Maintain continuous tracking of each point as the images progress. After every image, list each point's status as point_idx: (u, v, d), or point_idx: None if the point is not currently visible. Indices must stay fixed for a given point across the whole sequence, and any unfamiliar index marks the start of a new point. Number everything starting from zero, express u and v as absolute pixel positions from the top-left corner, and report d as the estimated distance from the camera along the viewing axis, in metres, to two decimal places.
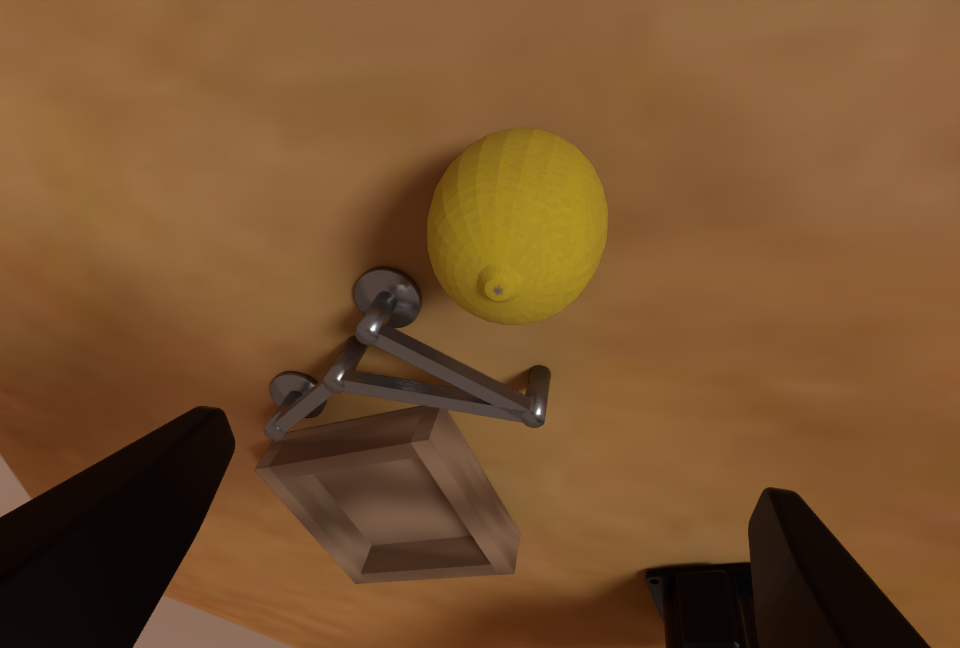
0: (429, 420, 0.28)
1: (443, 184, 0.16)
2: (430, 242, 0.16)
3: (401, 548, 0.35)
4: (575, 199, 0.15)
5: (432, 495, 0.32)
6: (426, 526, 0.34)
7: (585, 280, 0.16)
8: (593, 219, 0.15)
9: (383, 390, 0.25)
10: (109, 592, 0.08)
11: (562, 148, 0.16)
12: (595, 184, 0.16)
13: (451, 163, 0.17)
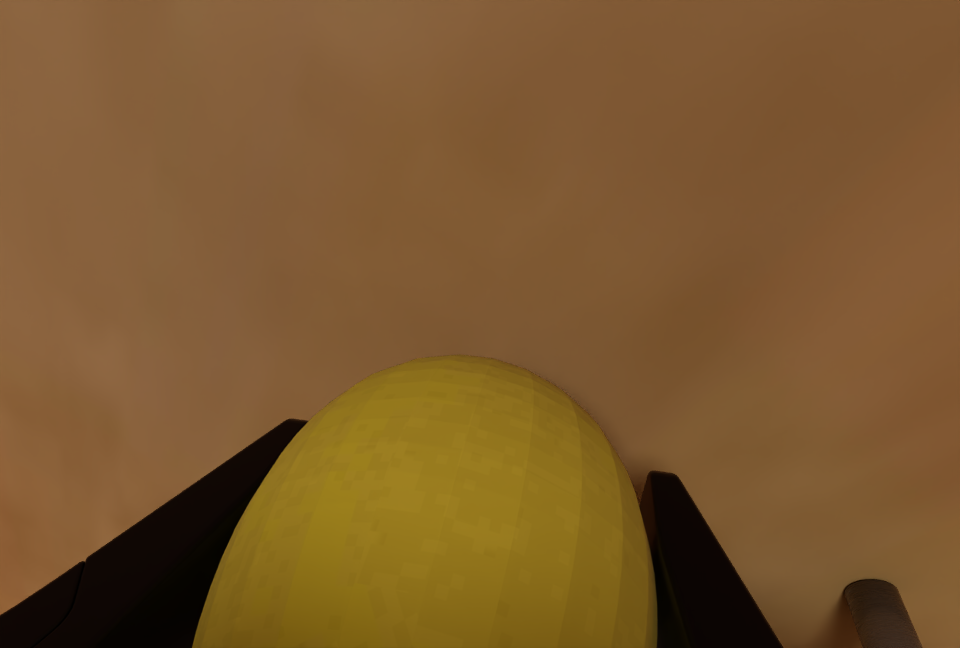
0: None
1: None
2: None
3: None
4: (326, 622, 0.05)
5: None
6: None
7: None
8: (422, 609, 0.05)
9: None
10: None
11: (311, 455, 0.06)
12: (414, 467, 0.06)
13: None
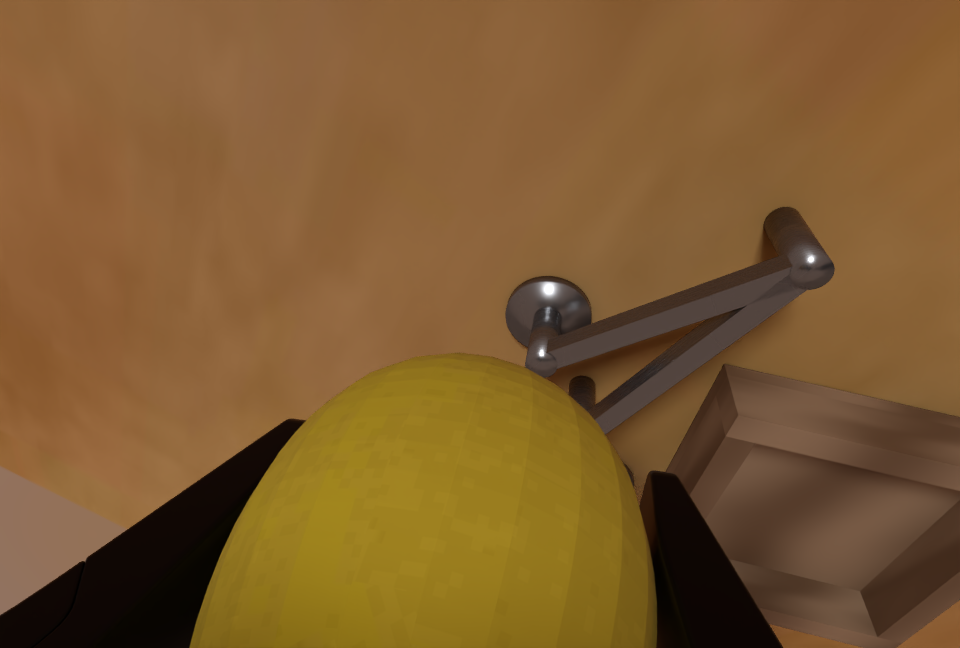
0: (726, 394, 0.19)
1: None
2: None
3: (896, 571, 0.23)
4: (323, 621, 0.05)
5: (850, 477, 0.21)
6: (894, 521, 0.22)
7: None
8: (421, 608, 0.05)
9: (625, 405, 0.18)
10: None
11: (309, 453, 0.06)
12: (413, 465, 0.06)
13: None
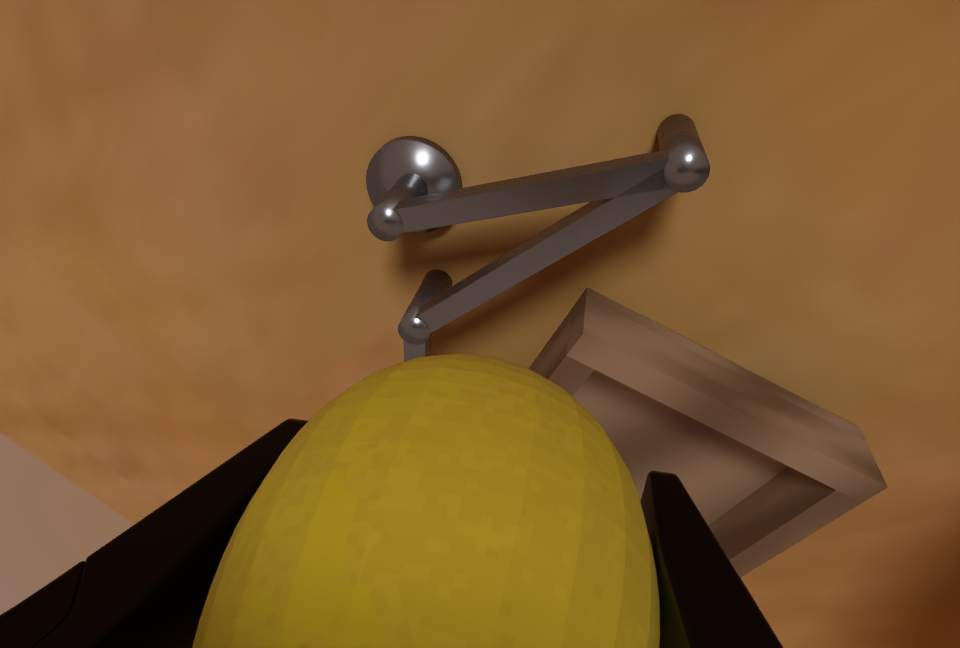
0: (579, 316, 0.18)
1: None
2: None
3: None
4: (327, 622, 0.05)
5: (680, 436, 0.21)
6: (710, 490, 0.22)
7: None
8: (425, 609, 0.05)
9: (468, 294, 0.16)
10: None
11: (311, 454, 0.06)
12: (416, 466, 0.06)
13: None
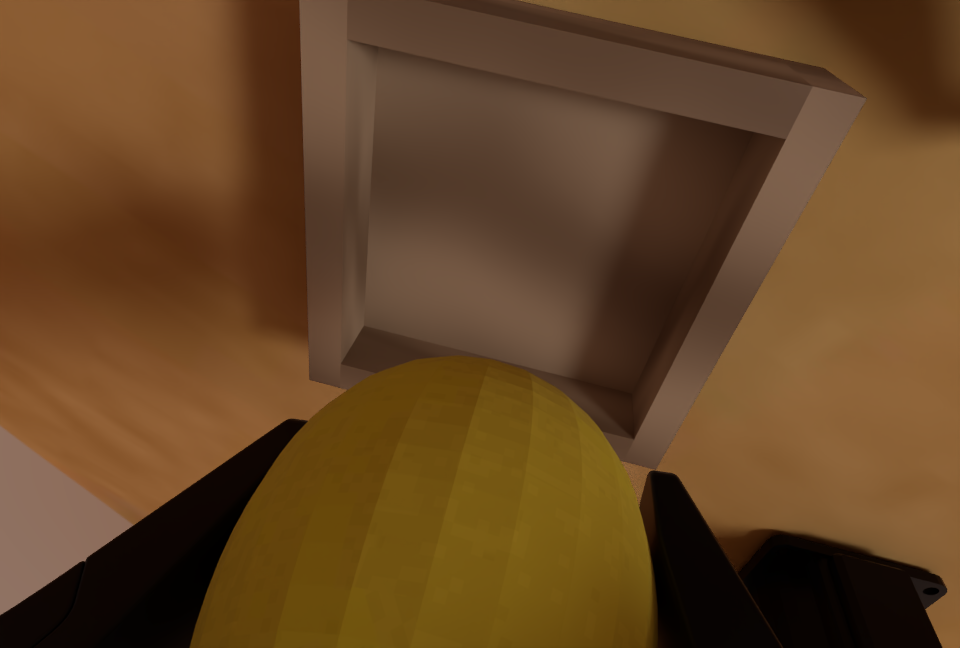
0: (825, 77, 0.11)
1: None
2: None
3: (433, 352, 0.18)
4: (322, 626, 0.05)
5: (593, 273, 0.16)
6: (513, 330, 0.17)
7: None
8: (422, 613, 0.05)
9: None
10: None
11: (308, 457, 0.06)
12: (413, 469, 0.06)
13: None
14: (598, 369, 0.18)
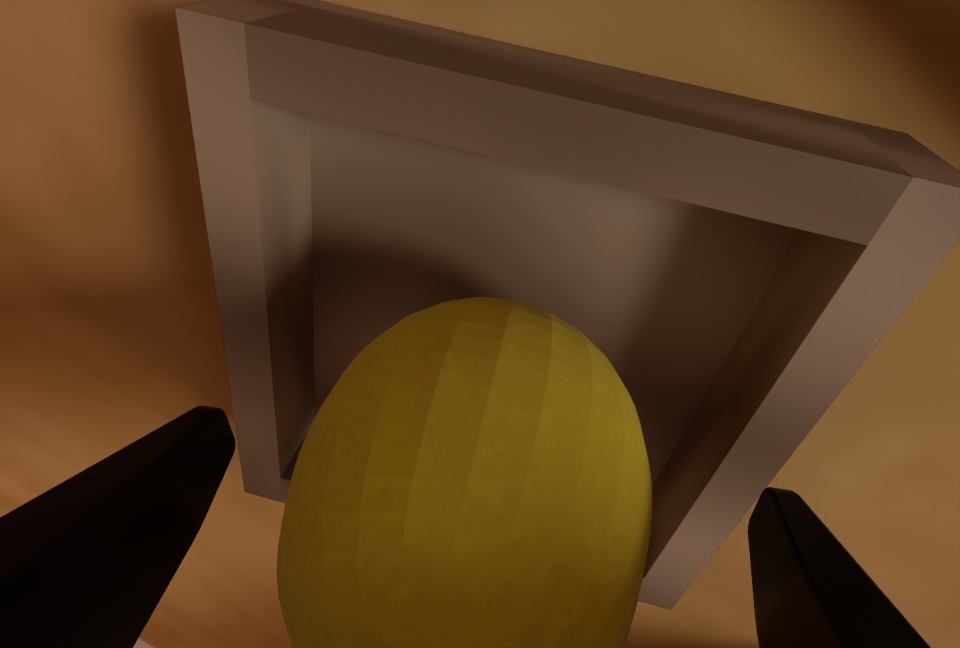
0: (918, 153, 0.08)
1: None
2: None
3: None
4: (399, 473, 0.06)
5: None
6: None
7: (582, 574, 0.06)
8: (473, 463, 0.06)
9: None
10: (109, 592, 0.08)
11: (374, 366, 0.08)
12: (461, 369, 0.07)
13: None
14: None
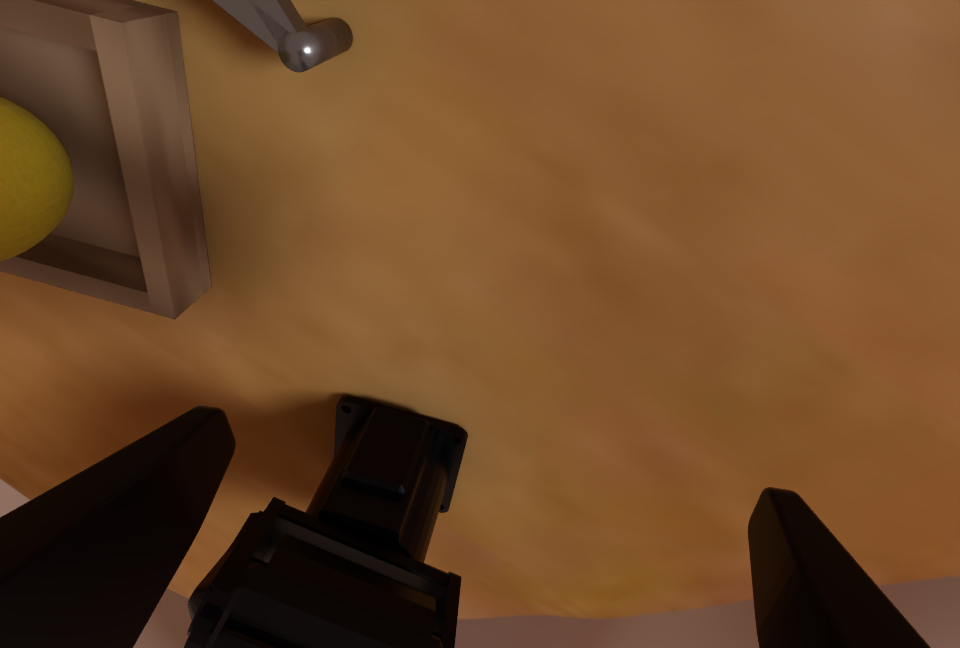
0: (141, 14, 0.17)
1: None
2: None
3: None
4: None
5: (106, 167, 0.22)
6: (79, 216, 0.23)
7: None
8: None
9: None
10: (109, 592, 0.08)
11: None
12: None
13: None
14: None
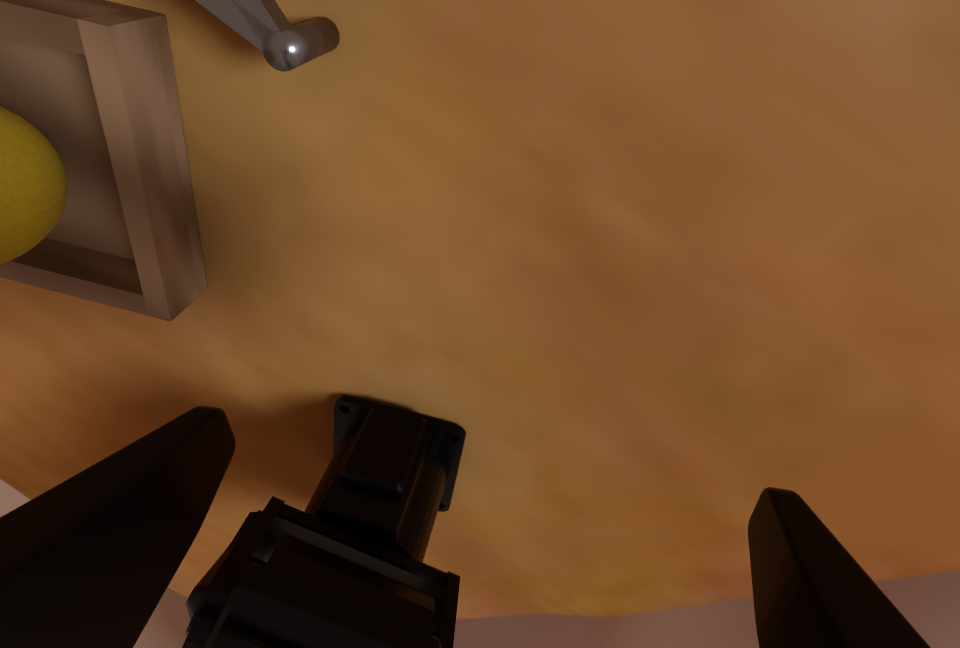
0: (128, 17, 0.17)
1: None
2: None
3: None
4: None
5: (99, 171, 0.22)
6: (75, 220, 0.23)
7: None
8: None
9: None
10: (109, 592, 0.08)
11: None
12: None
13: None
14: None
